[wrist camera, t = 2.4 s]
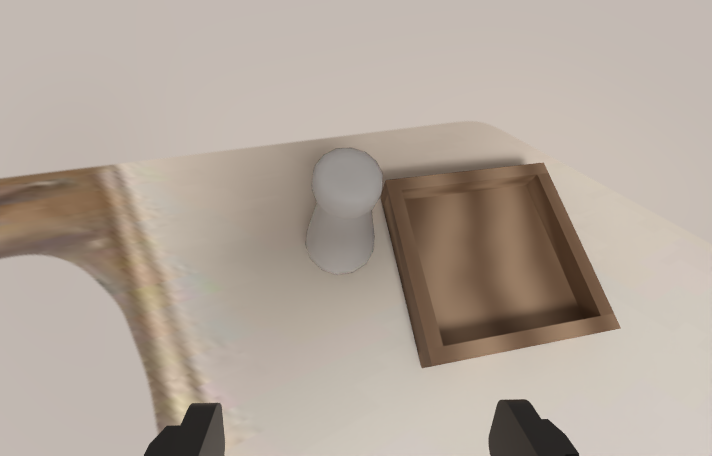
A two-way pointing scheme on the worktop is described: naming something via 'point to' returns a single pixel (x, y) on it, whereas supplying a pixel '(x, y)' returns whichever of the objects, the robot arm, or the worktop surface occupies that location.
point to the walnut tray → (490, 263)
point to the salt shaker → (343, 210)
